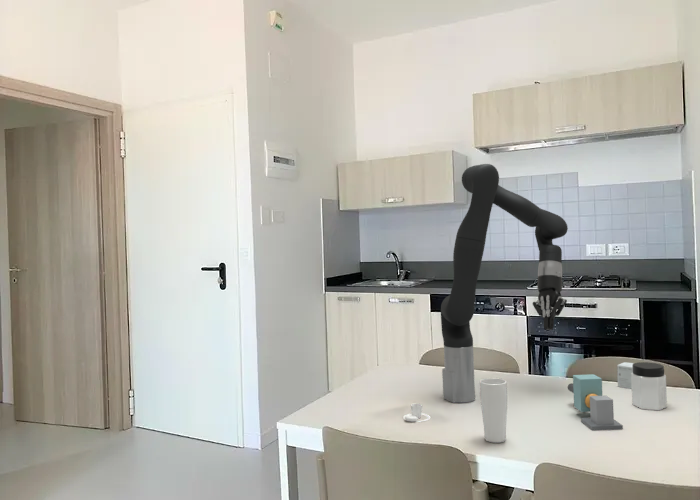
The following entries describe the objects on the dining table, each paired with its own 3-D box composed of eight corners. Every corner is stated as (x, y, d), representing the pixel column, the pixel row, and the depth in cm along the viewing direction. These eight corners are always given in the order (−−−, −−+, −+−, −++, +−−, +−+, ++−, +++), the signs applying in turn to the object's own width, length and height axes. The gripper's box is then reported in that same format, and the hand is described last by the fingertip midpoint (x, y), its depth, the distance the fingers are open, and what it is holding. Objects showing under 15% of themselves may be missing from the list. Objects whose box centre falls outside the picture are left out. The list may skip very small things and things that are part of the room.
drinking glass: (478, 436, 143) (475, 378, 143) (503, 434, 144) (501, 376, 144) (486, 445, 137) (484, 385, 136) (513, 443, 137) (511, 383, 137)
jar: (655, 412, 156) (654, 370, 156) (627, 406, 163) (626, 365, 162) (671, 406, 161) (670, 365, 161) (643, 400, 168) (642, 360, 167)
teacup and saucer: (410, 426, 155) (410, 411, 155) (395, 418, 162) (395, 404, 162) (436, 420, 159) (435, 406, 159) (420, 412, 166) (419, 399, 166)
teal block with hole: (603, 411, 153) (601, 378, 153) (581, 411, 153) (580, 379, 153) (595, 405, 158) (593, 374, 158) (574, 406, 158) (572, 375, 158)
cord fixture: (622, 429, 144) (621, 400, 144) (592, 430, 144) (591, 401, 144) (585, 403, 167) (584, 378, 167) (558, 404, 167) (558, 379, 167)
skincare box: (617, 387, 183) (616, 364, 183) (624, 383, 187) (624, 361, 187) (636, 390, 178) (635, 367, 178) (643, 386, 183) (643, 363, 182)
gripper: (526, 277, 185) (524, 328, 180) (556, 271, 173) (555, 326, 169) (543, 281, 188) (542, 332, 183) (574, 276, 176) (573, 330, 172)
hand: (548, 329), depth 176 cm, fingers closed
